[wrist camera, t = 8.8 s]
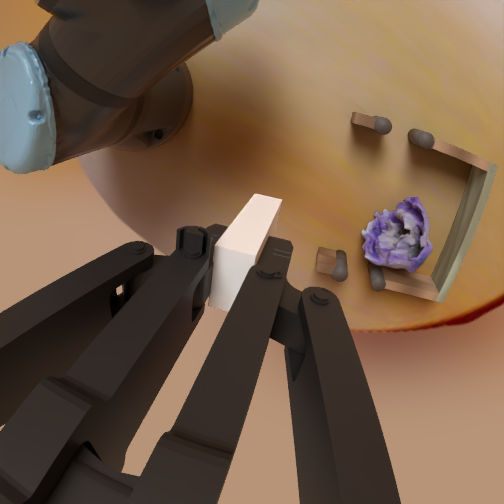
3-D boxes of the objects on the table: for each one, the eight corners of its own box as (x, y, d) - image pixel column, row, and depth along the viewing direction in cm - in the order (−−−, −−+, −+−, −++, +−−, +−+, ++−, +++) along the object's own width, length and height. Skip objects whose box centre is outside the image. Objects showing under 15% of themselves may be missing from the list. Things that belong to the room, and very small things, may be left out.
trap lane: (316, 256, 42) (314, 275, 37) (353, 109, 32) (357, 109, 28) (433, 287, 39) (442, 307, 35) (482, 156, 30) (500, 164, 26)
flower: (469, 259, 30) (419, 246, 27) (420, 290, 37) (365, 284, 33) (443, 196, 34) (392, 173, 31) (403, 231, 41) (349, 216, 38)
